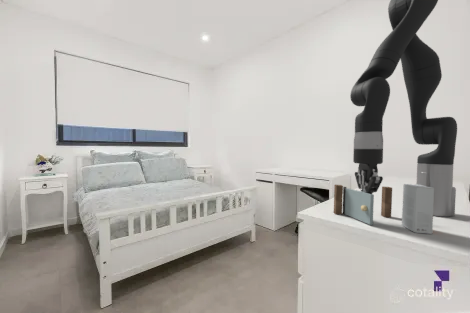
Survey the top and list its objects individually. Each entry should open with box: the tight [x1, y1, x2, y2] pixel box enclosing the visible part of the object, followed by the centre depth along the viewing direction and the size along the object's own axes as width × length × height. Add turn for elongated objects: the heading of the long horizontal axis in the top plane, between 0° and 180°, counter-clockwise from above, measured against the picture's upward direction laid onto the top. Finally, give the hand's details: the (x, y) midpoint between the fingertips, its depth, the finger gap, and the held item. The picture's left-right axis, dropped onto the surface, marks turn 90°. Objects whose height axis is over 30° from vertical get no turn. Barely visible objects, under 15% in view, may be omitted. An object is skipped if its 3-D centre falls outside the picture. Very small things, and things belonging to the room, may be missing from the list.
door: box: [344, 187, 375, 226], centre depth 65 cm, size 10×2×8 cm, turn 10°
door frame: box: [333, 184, 393, 218], centre depth 70 cm, size 17×2×10 cm, turn 82°
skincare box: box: [401, 183, 434, 235], centre depth 58 cm, size 6×4×12 cm
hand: (366, 204), depth 65 cm, fingers closed
